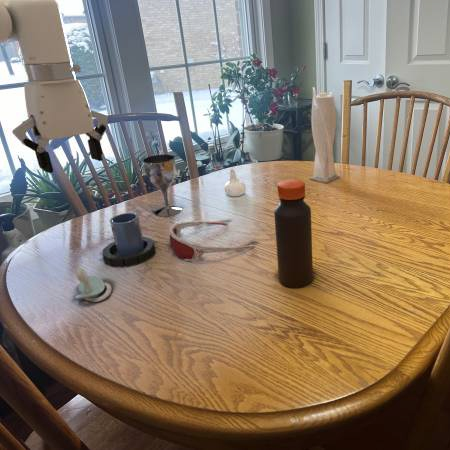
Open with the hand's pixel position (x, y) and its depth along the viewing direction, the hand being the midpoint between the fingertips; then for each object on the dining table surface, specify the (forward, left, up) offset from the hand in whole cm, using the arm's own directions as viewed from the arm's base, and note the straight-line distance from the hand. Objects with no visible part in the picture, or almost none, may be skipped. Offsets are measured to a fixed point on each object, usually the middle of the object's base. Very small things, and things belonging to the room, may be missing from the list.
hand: (73, 165), depth 86 cm
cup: (+7, -2, -22) cm, 23 cm away
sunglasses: (+20, -13, -23) cm, 33 cm away
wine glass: (+27, +12, -23) cm, 37 cm away
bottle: (+20, -39, -23) cm, 49 cm away
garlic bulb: (+47, +6, -23) cm, 52 cm away
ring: (+6, -2, -22) cm, 23 cm away
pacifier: (-7, -11, -23) cm, 26 cm away
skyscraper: (+73, -8, -23) cm, 76 cm away
